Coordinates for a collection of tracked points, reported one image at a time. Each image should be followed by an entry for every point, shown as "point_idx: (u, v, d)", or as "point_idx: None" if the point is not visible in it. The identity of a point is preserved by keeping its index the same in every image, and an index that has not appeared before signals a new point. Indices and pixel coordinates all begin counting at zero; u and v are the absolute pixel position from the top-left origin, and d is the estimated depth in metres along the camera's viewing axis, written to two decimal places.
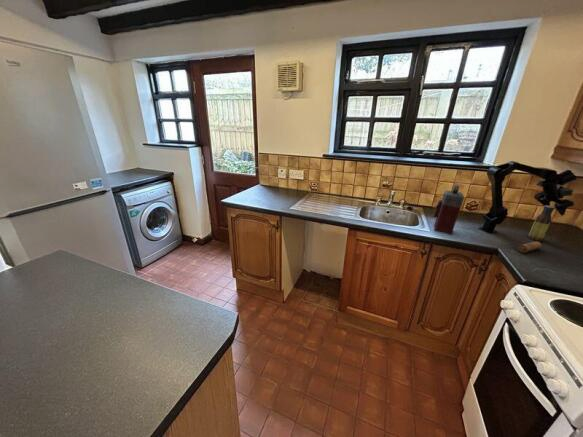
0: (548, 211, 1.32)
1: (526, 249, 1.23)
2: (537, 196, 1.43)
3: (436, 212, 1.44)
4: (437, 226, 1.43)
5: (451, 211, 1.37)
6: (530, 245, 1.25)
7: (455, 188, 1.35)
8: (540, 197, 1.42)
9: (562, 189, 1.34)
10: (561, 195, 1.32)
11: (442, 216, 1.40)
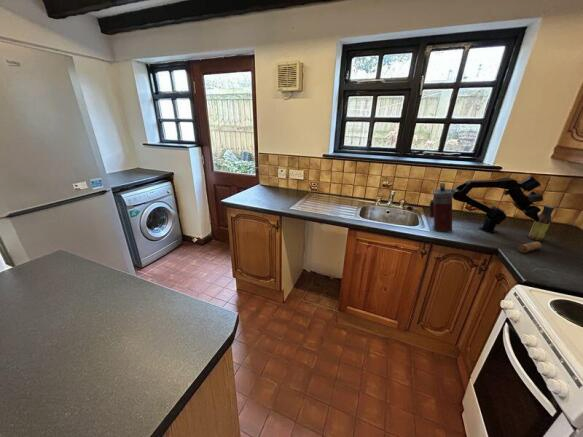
0: (548, 211, 1.32)
1: (526, 249, 1.23)
2: (514, 203, 1.44)
3: (431, 212, 1.46)
4: (435, 225, 1.44)
5: (444, 208, 1.38)
6: (530, 245, 1.25)
7: (441, 186, 1.37)
8: None
9: (533, 195, 1.34)
10: (530, 201, 1.33)
11: (437, 215, 1.41)
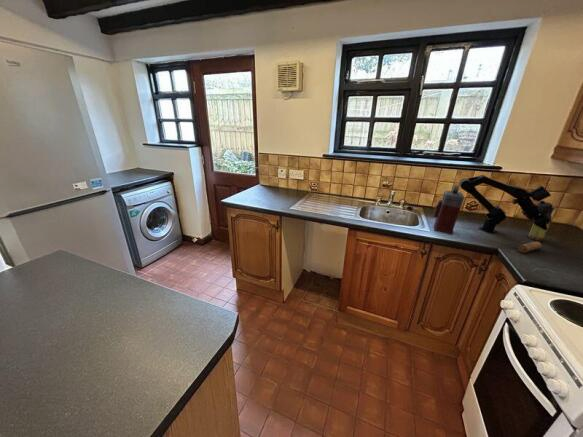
0: (548, 211, 1.32)
1: (526, 249, 1.23)
2: (523, 212, 1.43)
3: (436, 212, 1.44)
4: (437, 226, 1.43)
5: (451, 211, 1.37)
6: (530, 245, 1.25)
7: (455, 188, 1.35)
8: None
9: (542, 204, 1.34)
10: (539, 211, 1.33)
11: (442, 216, 1.40)
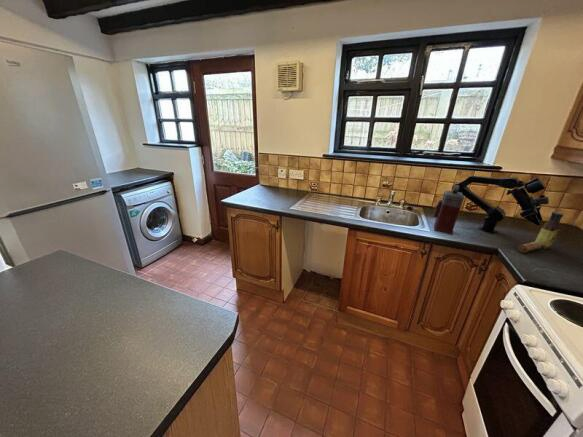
0: (554, 217, 1.24)
1: (526, 249, 1.23)
2: None
3: (436, 212, 1.44)
4: (437, 226, 1.43)
5: (451, 211, 1.37)
6: (530, 245, 1.25)
7: (455, 188, 1.35)
8: None
9: (538, 198, 1.28)
10: (532, 203, 1.28)
11: (442, 216, 1.40)
